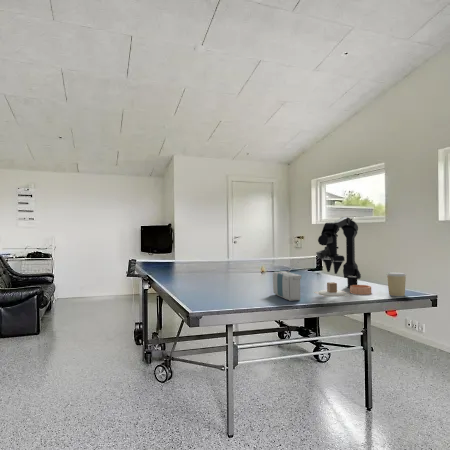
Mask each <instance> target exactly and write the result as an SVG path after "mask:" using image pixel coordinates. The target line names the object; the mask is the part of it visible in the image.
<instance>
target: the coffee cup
mask: <svg viewBox="0 0 450 450" xmlns="http://www.w3.org/2000/svg"><path fill="white" fill-rule="evenodd" d="M406 276H407V274H406V273H405V272H398V271H396V272H395V271H394V272H393V271H391V272H387V274H386V278H387V286H388V287H387V288H388V295H389V296H390V295H391V297H399V298H400V297H405V296H406V295H405V294H406V282H407V281H406V278H407V277H406Z"/></svg>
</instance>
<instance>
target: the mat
mask: <svg viewBox="0 0 450 450" xmlns="http://www.w3.org/2000/svg"><path fill="white" fill-rule="evenodd" d="M313 293H314V294H317V295H318V296H322V297H323V298H335V297H339V296H326V295H321V294H319V291H313ZM342 297H353V295H352V294H349V293H347V292H345V295H343V296H342Z"/></svg>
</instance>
